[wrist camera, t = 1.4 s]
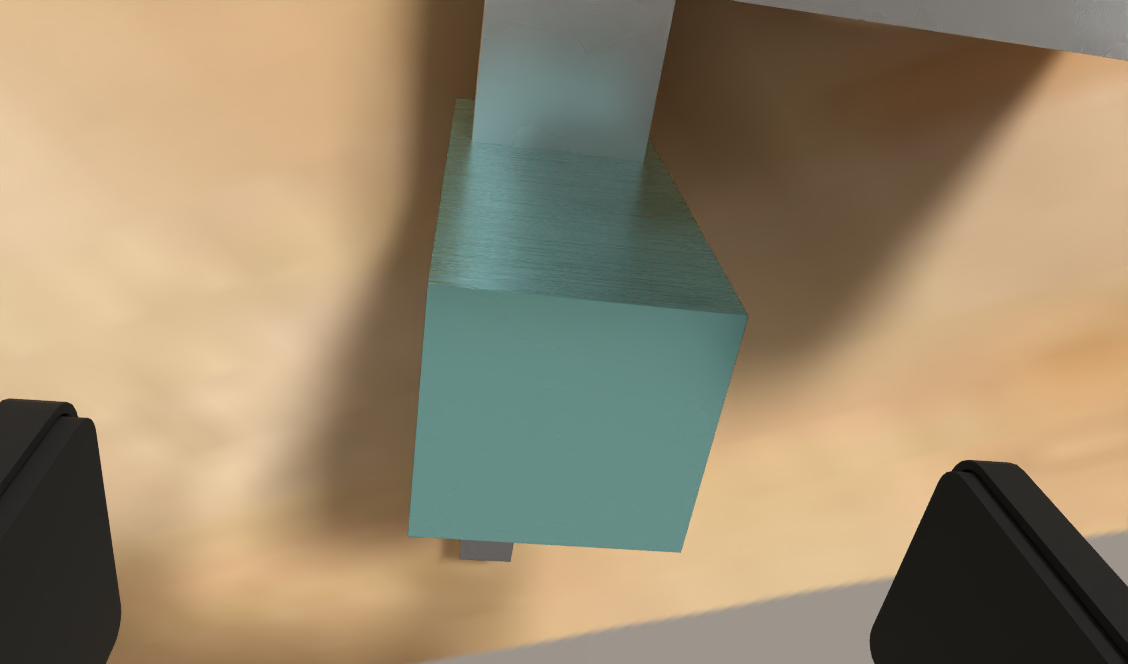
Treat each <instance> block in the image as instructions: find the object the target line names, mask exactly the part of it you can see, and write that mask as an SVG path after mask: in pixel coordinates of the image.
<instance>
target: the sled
mask: <svg viewBox="0 0 1128 664" xmlns="http://www.w3.org/2000/svg"><path fill="white" fill-rule="evenodd" d="M675 1H676V0H485V1H484V11H483V21H482V32H481V42H480V52H479V63H478V73H477V83H476V93H475V100H473V99H465V98H458V97H456V100H455V107H454V114H453V120H452V127H451V134H450V140H449V147H448V154H447V160H446V167H445V173H444V180H443V187H442V193H441V200H440V207H439V213H438V220H437V226H436V233H435V240H434V246H433V253H432V260H431V266H430V273H429V279H428V288H427V301H426V313H425V326H424V339H423V351H422V364H421V377H420V389H419V402H418V415H417V427H416V440H415V453H414V466H413V478H412V491H411V504H410V516H409V529H408V536H410V537H427V538H444V539H461V540H478V541H494V542H511V543H528V544H545V545H562V546H578V547H595V548H612V549H629V550H646V551H663V552H679V553H681V550H682V547H683V543H684V540H685V536H686V533H687V529H688V526H689V522H690V519H691V515H692V512H693V508H694V505H695V501H696V498H697V494H698V491H699V487H700V484H701V480H702V477H703V473H704V470H705V466H706V463H707V459H708V456H709V452H710V449H711V445H712V442H713V438H714V435H715V431H716V428H717V424H718V421H719V417H720V414H721V410H722V407H723V403H724V400H725V396H726V393H727V389H728V386H729V382H730V379H731V375H732V372H733V368H734V365H735V361H736V358H737V354H738V351H739V347H740V344H741V340H742V337H743V333H744V330H745V326H746V323H747V319H748V314H747V313H746V311H745V309H744V307H743V305H742V304H741V302H740V300H739V298H738V296H737V295H736V293H735V291H734V289H733V287H732V286H731V284H730V282H729V280H728V279H727V277H726V275H725V273H724V271H723V270H722V268H721V266H720V264H719V262H718V261H717V259H716V257H715V255H714V253H713V252H712V250H711V248H710V246H709V244H708V243H707V241H706V239H705V237H704V235H703V234H702V232H701V230H700V228H699V226H698V225H697V223H696V221H695V219H694V217H693V216H692V214H691V212H690V210H689V208H688V207H687V205H686V203H685V201H684V199H683V198H682V196H681V194H680V192H679V190H678V189H677V187H676V185H675V183H674V181H673V180H672V178H671V176H670V174H669V172H668V171H667V169H666V167H665V165H664V163H663V162H662V160H661V158H660V156H659V154H658V153H657V151H656V149H655V147H654V145H653V144H652V142H651V140H650V138H649V132H650V127H651V122H652V117H653V112H654V107H655V102H656V97H657V92H658V87H659V82H660V77H661V72H662V67H663V62H664V57H665V52H666V47H667V42H668V36H669V31H670V26H671V21H672V16H673V11H674V6H675ZM732 1H738V2H745V3H752V4H758V5H765V6H771V7H778V8H784V9H791V10H798V11H804V12H811V13H817V14H824V15H831V16H837V17H844V18H850V19H857V20H863V21H870V22H877V23H883V24H890V25H896V26H903V27H910V28H916V29H923V30H929V31H936V32H942V33H949V34H956V35H962V36H969V37H975V38H982V39H989V40H995V41H1002V42H1008V43H1015V44H1021V45H1028V46H1035V47H1041V48H1048V49H1054V50H1061V51H1068V52H1074V53H1081V54H1087V55H1094V56H1101V57H1107V58H1114V59H1120V60H1127V61H1128V0H732Z"/></svg>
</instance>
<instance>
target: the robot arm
mask: <svg viewBox="0 0 1128 664" xmlns="http://www.w3.org/2000/svg"><path fill="white" fill-rule="evenodd" d="M120 620H121V603H120V596H119V589H118V582H117V575H116V568H115V561H114V554H113V547H112V540H111V533H110V526H109V519H108V512H107V505H106V498H105V491H104V484H103V477H102V470H101V463H100V456H99V448H98V441H97V434H96V429H95V425H94V423H93V421H92V420H91V419H89V418H80V417H78V416H77V412H76V410H75V408H74V406H73V405H72V404H70V403H68V402H56V401H41V400H25V399H5V400H2V401H1V402H0V664H106V662H107V660H108V657H109V655H110V653H111V651H112V649H113V646H114V644H115V641H116V639H117V635H118V631H119V626H120ZM870 650H871V655H872V658H873V661H874V663H875V664H1128V587H1127V586H1126V584H1125V583H1124V582H1123V581H1122V580H1121V579H1120V578H1119V576H1117V574H1116V573H1115V572H1114V571H1113V570H1112V569H1111V568H1110V567H1109V565H1108V564H1107V563H1106V562H1105V561H1104V560H1103V559H1102V558H1101V556H1100V555H1099V554H1098V553H1097V552H1096V551H1095V550H1094V549H1093V547H1092V546H1091V545H1090V544H1089V543H1088V542H1087V541H1086V540H1085V539H1084V537H1083V536H1082V535H1081V534H1080V533H1079V532H1078V531H1077V530H1076V528H1075V527H1074V526H1073V525H1072V524H1071V523H1070V522H1069V521H1068V520H1067V518H1066V517H1065V516H1064V515H1063V514H1062V513H1061V512H1060V511H1059V509H1058V508H1057V507H1056V506H1055V505H1054V504H1053V503H1052V502H1051V501H1050V499H1049V498H1048V497H1047V496H1046V495H1045V494H1044V493H1043V492H1042V490H1041V489H1040V488H1039V487H1038V486H1037V485H1036V484H1035V483H1034V482H1033V480H1032V479H1031V478H1030V477H1029V476H1028V475H1027V474H1026V473H1025V471H1024V470H1022V469H1021V468H1020V467H1019V466H1017V465H1016V464H1012V463H1008V462H992V461H977V460H965V461H961V462H960V463H958V464H957V465H956V466H955V467H954V469H953V470H952V471H951V472H946V473H945V474H944V475H943V476H942V477H941V479H940V480H939V482H938V484H937V486H936V489H935V491H934V493H933V495H932V497H931V499H930V502H929V504H928V506H927V508H926V510H925V513H924V515H923V517H922V519H921V521H920V524H919V526H918V528H917V530H916V532H915V535H914V537H913V539H912V541H911V543H910V546H909V548H908V550H907V552H906V554H905V557H904V559H903V561H902V563H901V565H900V568H899V570H898V572H897V574H896V576H895V579H894V581H893V583H892V585H891V588H890V590H889V592H888V594H887V596H886V599H885V601H884V603H883V605H882V607H881V610H880V612H879V614H878V616H877V618H876V620H875V623H874V625H873V627H872V630H871V633H870Z"/></svg>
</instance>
